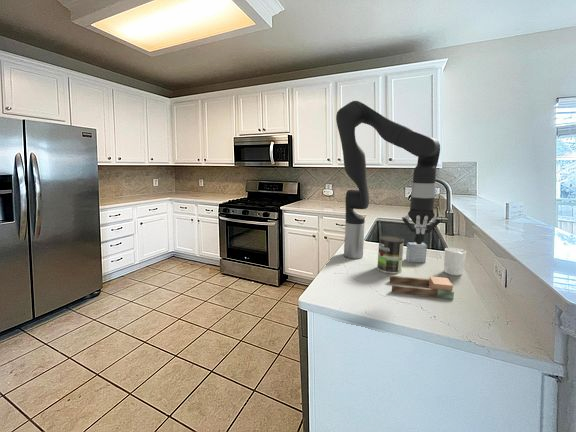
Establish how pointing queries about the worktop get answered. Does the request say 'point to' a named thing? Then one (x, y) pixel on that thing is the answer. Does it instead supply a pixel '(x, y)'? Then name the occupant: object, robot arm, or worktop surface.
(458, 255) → the white cup
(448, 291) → the walnut chute
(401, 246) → the coffee can
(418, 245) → the medicine box
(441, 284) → the terracotta block
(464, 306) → the worktop surface
